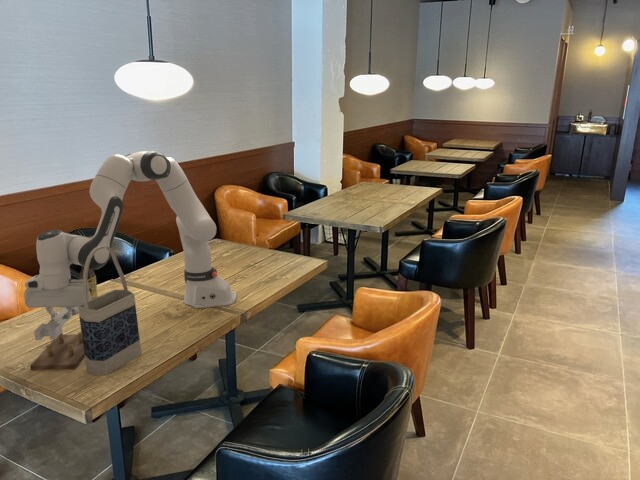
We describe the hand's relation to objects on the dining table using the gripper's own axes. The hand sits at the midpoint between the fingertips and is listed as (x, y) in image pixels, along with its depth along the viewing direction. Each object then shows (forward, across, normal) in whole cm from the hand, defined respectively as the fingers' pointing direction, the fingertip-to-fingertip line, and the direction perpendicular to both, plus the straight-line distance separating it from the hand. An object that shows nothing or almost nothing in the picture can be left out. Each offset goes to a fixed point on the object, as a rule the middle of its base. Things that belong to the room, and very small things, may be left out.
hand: (61, 318), depth 169 cm
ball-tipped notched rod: (+2, 0, 0) cm, 2 cm away
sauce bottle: (+13, +7, -44) cm, 46 cm away
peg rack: (+13, 0, 0) cm, 13 cm away
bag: (+13, -18, +7) cm, 24 cm away
